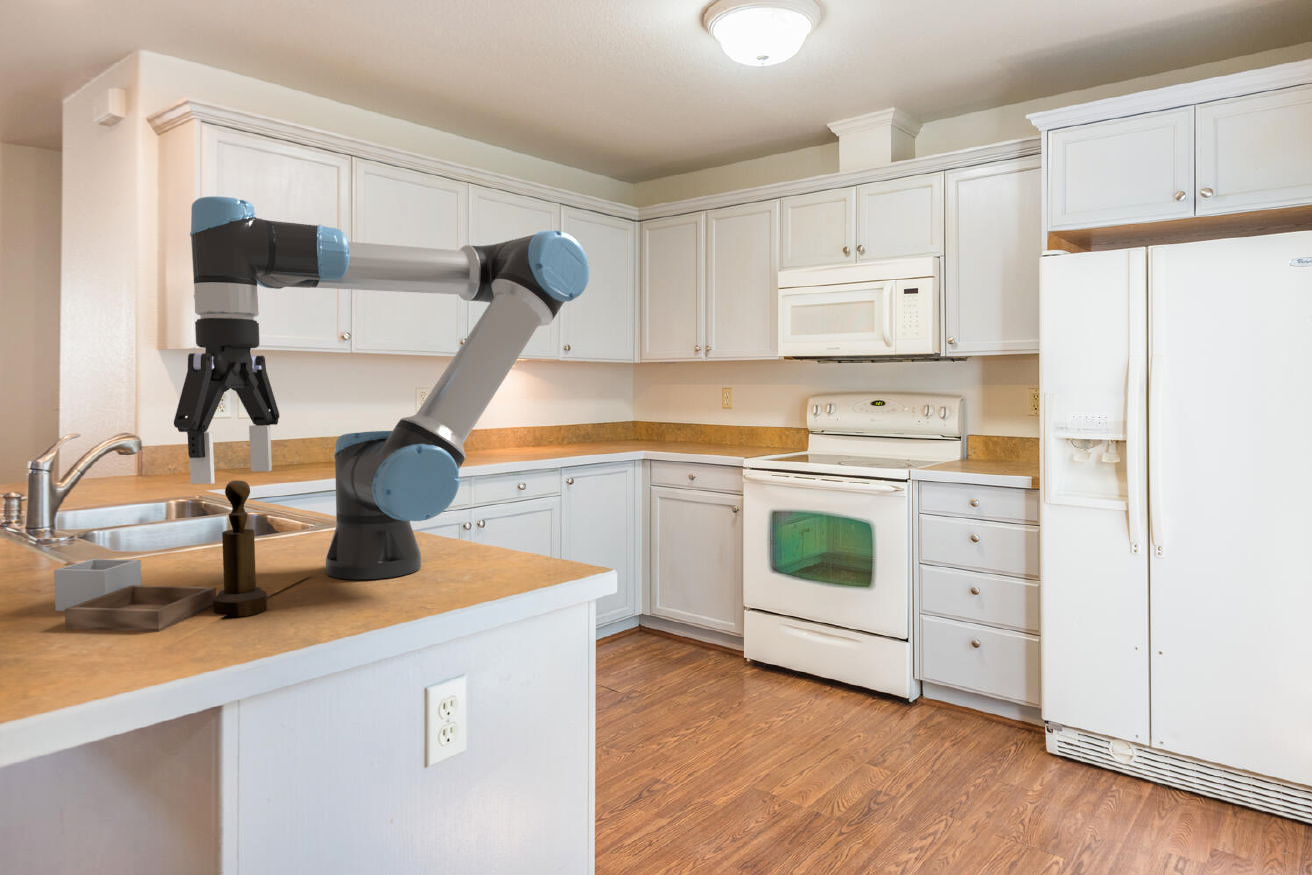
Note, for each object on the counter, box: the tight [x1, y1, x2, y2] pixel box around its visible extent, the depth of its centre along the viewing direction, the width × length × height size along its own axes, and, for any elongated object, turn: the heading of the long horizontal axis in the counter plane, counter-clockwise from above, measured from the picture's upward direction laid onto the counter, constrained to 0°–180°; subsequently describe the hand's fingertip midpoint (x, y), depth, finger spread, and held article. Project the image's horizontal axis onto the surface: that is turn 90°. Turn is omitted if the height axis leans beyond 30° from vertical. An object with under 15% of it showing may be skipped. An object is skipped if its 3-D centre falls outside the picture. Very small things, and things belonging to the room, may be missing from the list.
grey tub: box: [53, 558, 142, 612], centre depth 112 cm, size 7×7×6 cm
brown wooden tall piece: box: [212, 480, 268, 619], centre depth 111 cm, size 7×6×18 cm
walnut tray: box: [64, 584, 217, 633], centre depth 107 cm, size 12×12×3 cm
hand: (233, 477), depth 110 cm, fingers open, 13 cm apart
